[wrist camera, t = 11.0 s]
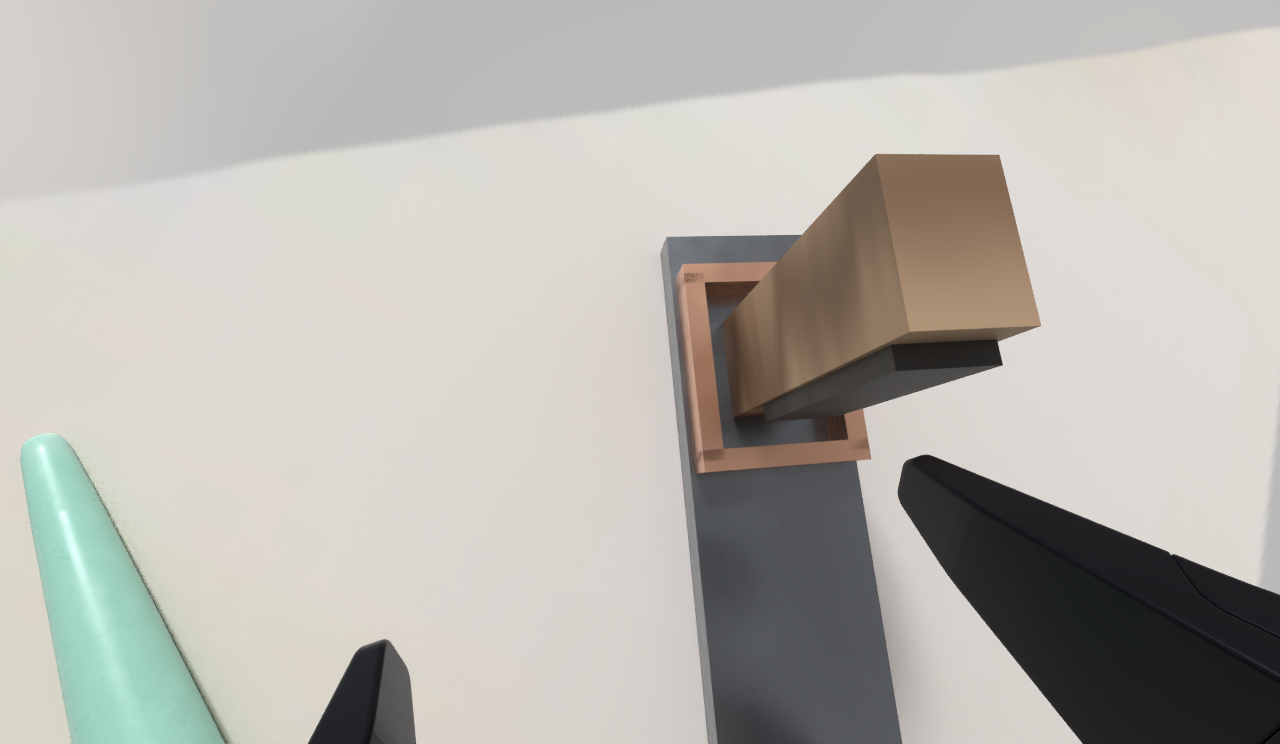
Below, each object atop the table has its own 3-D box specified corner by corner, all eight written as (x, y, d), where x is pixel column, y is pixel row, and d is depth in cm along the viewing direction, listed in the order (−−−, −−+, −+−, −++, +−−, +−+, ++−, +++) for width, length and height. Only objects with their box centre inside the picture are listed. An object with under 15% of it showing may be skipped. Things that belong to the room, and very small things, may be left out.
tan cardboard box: (805, 427, 23) (1047, 353, 12) (734, 432, 23) (915, 360, 11) (789, 320, 24) (999, 155, 13) (721, 323, 24) (875, 154, 12)
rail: (905, 888, 21) (1446, 1493, 8) (726, 925, 20) (1025, 1685, 7) (805, 249, 27) (1037, 10, 14) (660, 251, 26) (764, -4, 13)
